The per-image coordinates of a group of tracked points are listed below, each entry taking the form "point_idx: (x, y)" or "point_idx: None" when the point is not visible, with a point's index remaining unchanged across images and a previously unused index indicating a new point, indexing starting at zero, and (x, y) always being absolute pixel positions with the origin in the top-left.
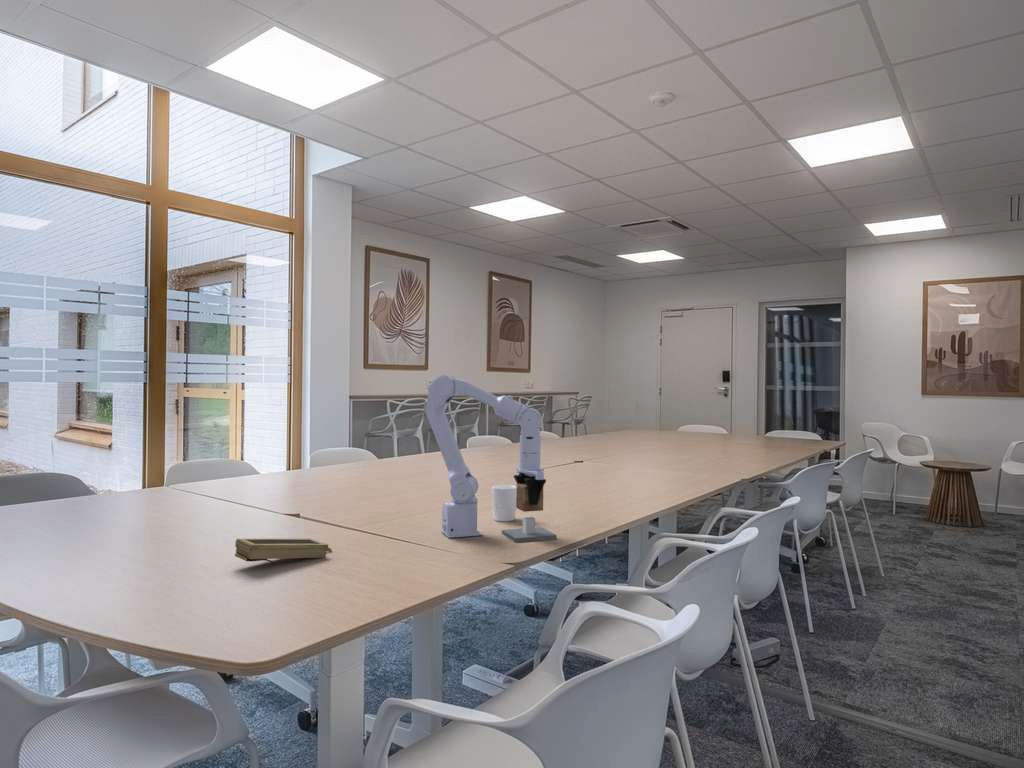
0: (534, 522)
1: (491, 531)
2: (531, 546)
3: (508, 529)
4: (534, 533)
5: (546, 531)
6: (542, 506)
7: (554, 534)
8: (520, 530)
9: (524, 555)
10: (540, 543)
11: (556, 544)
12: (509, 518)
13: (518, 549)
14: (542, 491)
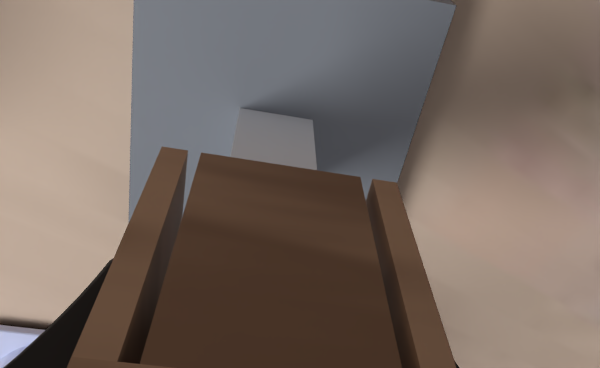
0: (313, 165)
1: (56, 261)
2: (488, 240)
3: (130, 216)
4: (320, 129)
5: (309, 7)
6: (401, 214)
7: (433, 11)
8: (190, 165)
9: (588, 336)
10: (471, 166)
11: (562, 94)
12: None
13: (488, 314)
14: (444, 362)
